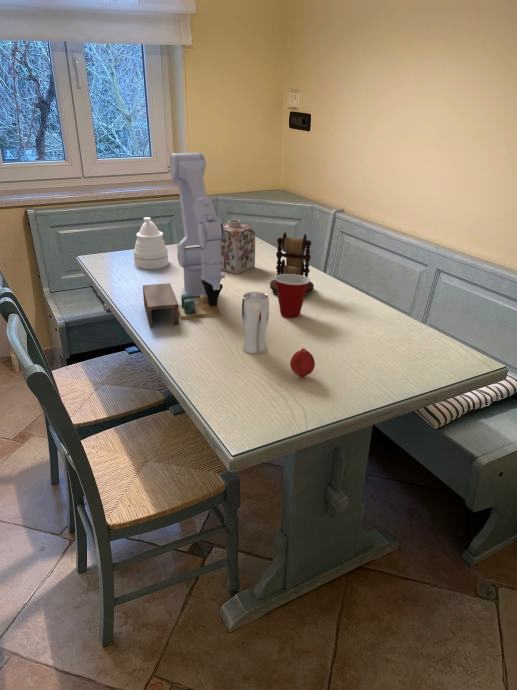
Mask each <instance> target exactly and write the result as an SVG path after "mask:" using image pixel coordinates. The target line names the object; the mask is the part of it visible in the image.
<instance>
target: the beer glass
mask: <svg viewBox="0 0 517 690" xmlns="http://www.w3.org/2000/svg"><path fill="white" fill-rule="evenodd" d="M269 299H270V298H269V295H268V294H267V293H265V292H262V291H249V292H245V293H243V294H242V301H241V302H242V303H241V320H242V327H243V331H244V340H243V341H244V342H243V346H242V349H243V351H244V352H245V353H247V354H250V355H259V354H264V353H265V352H266V350H267V345H266V339H265V338H266V331H267V327H268V323H269V316H270V303H269V301H270V300H269Z"/></svg>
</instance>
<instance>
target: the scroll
mask: <svg viewBox="0 0 517 690" xmlns="http://www.w3.org/2000/svg"><path fill="white" fill-rule="evenodd" d="M307 239H308V237H307V234H306V233H304V234H303V238H297V237H288V236H287V232H283V234H282V237H278V238H277V239H276V243H277V251H276V253H275V254H276V255H275V256H276V259H277V260H276V267H275V269H276V275H275V276H277V275H280V274H296V275H302V276H305V277H308V278H309V273H310V268H309V267H310V260H311V250H310V248H311V246H312V241H311V239H310V240H307ZM282 251H283V252H284V253H283V252H282ZM282 258H285V259H286V260H285V259H282ZM281 259H282V260H281ZM304 261H305V262H304ZM269 287H270V289H271V291H272V293H273V295H274V296H275V295H276V294H278V292H277V286H276V281H275V279H273V280H271V281H270V283H269ZM314 287H315V285H314V282H312V281H310V282H309V283H308V286H307V289H306V292H305V295H307V294H310V293H312V292H313V291H314Z"/></svg>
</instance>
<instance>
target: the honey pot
mask: <svg viewBox="0 0 517 690" xmlns="http://www.w3.org/2000/svg"><path fill="white" fill-rule="evenodd" d="M151 219H152V218H151V217H149V216H148V217H146V216H145V217H143V221H144V222H143V223H142V225H141V227H140V229H139V231H138V232H137V233H136V235H135V236H136V237H137V238H136V241H135V245H134V249H133V262H134V267H136V268H139V269H144V270H146V269H147V270H150V269H151V270H154V269H161V268H164V267H166V266H168V265H169V253H168V248H167V246H166V244H165V241H164V238H163V236H164V232H163V231H160V230H159V229H158V226H157V225H156V224H155V223H154V222H153V221H151Z"/></svg>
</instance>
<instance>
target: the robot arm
mask: <svg viewBox="0 0 517 690" xmlns="http://www.w3.org/2000/svg"><path fill="white" fill-rule="evenodd" d="M206 164H207V163H206V157H205V155H204V154H203V152H201V151H199V152H180V153H175V152H172V153H171V155H170V157H169V169H170V175H171V176H170V177H171V179H172V180H171V181H172V183H174V184H176V185H177V188H178V192H179V202H180V209H181V210H180V211H181V219H182V225H183V233H184V237H183V238H182V239H181V240H180V241H179V242H178V244H177V245H176V247H177V252H176V253H177V261H178V265H179V266H180V267H181V268H183V287H181V290H182V293H183V294H191V295H192V298H193V297H200V295H207V296H208V302H209V305H210V306H216V305H217V302H218V301H219V296H220V294H221V291H222V290H223V284H222V283H221V281H222V279H225V278H226V275H225V274H224V273H222V270H221V241H220V240H222V239H223V237H224V227H223V222H222V220H221V219H220V217H219V216H217V214H216V210H215V207H214V203H213V200H212V199H211V198H209V197H208V196H207V191H206V187H205V181H204V175H205V171H206ZM218 303H219V302H218Z"/></svg>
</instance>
